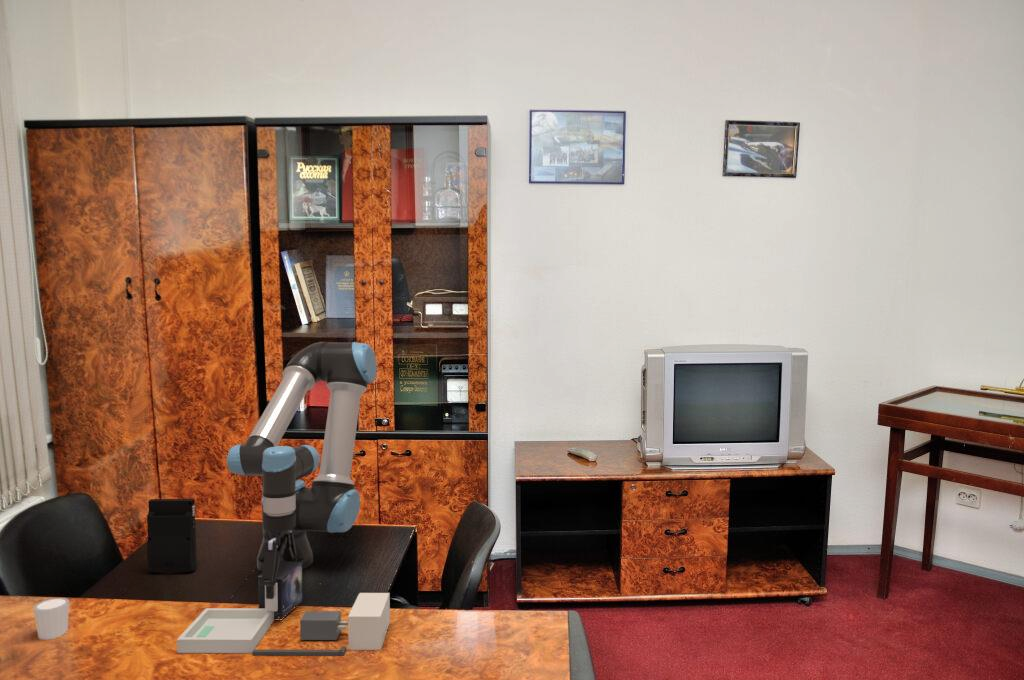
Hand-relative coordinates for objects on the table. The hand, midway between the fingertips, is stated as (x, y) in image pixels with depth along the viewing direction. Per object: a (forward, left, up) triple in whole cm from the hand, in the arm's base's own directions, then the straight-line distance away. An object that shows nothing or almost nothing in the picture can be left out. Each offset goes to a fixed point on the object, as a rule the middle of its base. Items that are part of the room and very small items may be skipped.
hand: (280, 599), depth 176 cm
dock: (+12, -8, -3) cm, 15 cm away
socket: (+12, +23, -3) cm, 26 cm away
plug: (+12, +13, -3) cm, 18 cm away
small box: (-1, 0, -3) cm, 3 cm away
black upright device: (-24, -37, -3) cm, 44 cm away
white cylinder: (+11, -48, -3) cm, 49 cm away
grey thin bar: (+20, +10, -3) cm, 23 cm away
